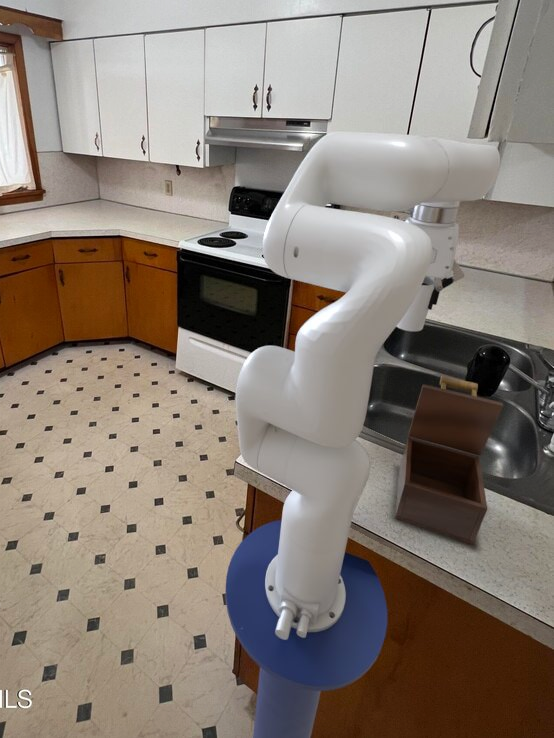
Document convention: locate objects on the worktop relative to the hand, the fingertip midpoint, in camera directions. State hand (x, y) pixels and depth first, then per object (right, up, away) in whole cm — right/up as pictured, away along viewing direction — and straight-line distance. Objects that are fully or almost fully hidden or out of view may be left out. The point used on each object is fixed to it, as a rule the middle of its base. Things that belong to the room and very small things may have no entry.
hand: (412, 303), depth 85 cm
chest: (+1, -38, -5) cm, 38 cm away
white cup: (0, -5, +2) cm, 5 cm away
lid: (+4, -22, -8) cm, 23 cm away
